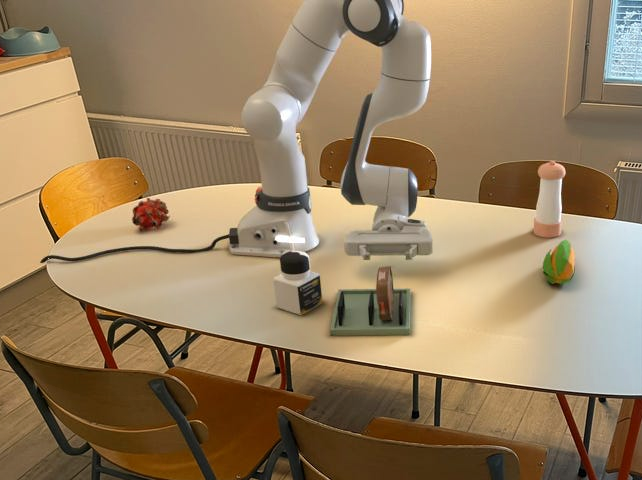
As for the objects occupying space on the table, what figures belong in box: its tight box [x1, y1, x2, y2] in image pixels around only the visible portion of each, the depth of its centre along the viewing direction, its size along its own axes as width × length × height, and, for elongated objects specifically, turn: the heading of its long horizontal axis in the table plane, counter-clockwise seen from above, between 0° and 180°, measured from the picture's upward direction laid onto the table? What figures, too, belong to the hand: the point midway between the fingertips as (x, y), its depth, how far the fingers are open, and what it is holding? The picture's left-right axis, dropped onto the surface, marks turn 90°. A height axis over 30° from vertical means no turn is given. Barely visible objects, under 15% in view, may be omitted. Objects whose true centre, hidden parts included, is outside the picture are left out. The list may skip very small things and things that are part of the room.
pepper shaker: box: [533, 160, 566, 239], centre depth 193 cm, size 7×7×19 cm
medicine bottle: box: [272, 251, 323, 316], centre depth 158 cm, size 7×7×12 cm
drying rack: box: [329, 288, 412, 337], centre depth 156 cm, size 16×19×5 cm
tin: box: [375, 265, 395, 320], centre depth 156 cm, size 15×3×8 cm, turn 2°
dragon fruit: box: [131, 197, 171, 232], centre depth 198 cm, size 8×8×12 cm
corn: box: [542, 239, 576, 286], centre depth 173 cm, size 7×8×20 cm
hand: (387, 257), depth 165 cm, fingers open, 8 cm apart
